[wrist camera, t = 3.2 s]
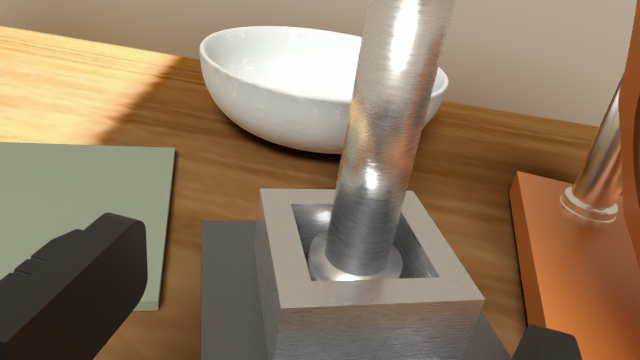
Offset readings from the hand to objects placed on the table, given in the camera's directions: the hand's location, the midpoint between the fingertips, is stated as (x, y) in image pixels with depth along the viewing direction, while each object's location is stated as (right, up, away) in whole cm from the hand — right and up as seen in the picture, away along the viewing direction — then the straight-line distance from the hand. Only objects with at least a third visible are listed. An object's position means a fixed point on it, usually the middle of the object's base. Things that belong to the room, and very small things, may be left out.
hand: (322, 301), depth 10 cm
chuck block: (+1, -4, +15) cm, 16 cm away
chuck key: (+1, -4, +14) cm, 15 cm away
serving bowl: (0, +7, +35) cm, 36 cm away
